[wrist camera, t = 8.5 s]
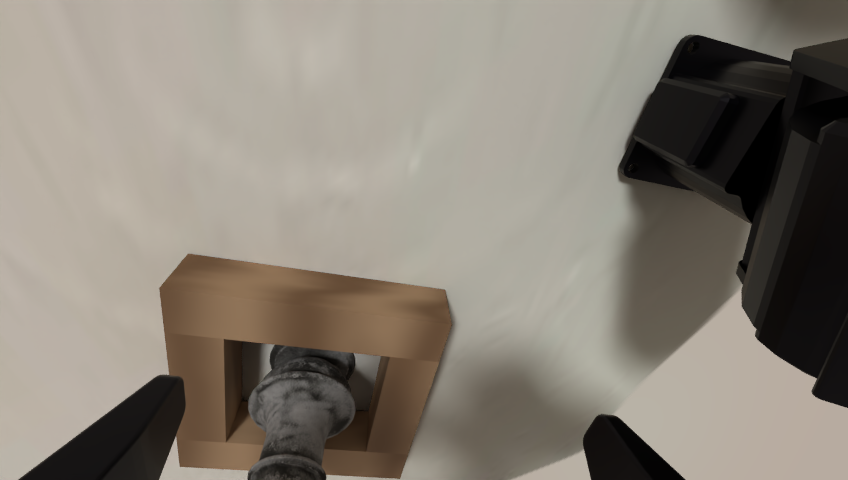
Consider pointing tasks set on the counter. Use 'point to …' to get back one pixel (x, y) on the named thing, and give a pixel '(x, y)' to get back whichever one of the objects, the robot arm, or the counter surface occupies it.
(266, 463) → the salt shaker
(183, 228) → the counter surface
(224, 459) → the well block
